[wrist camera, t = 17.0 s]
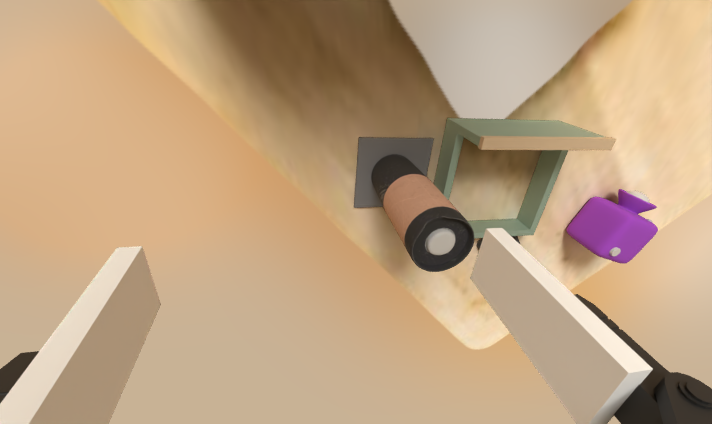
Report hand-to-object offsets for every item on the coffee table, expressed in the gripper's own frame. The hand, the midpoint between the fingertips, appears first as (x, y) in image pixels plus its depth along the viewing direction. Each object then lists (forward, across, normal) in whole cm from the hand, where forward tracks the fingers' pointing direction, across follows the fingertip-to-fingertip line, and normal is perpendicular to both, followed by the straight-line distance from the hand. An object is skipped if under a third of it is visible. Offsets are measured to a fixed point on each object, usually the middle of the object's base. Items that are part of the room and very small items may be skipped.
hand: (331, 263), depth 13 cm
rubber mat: (+37, +15, -12) cm, 41 cm away
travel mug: (+36, +15, -12) cm, 41 cm away
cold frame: (+37, +33, -13) cm, 51 cm away
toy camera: (+37, +60, -21) cm, 74 cm away
